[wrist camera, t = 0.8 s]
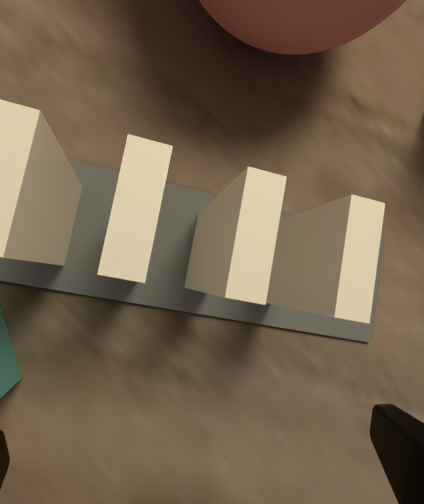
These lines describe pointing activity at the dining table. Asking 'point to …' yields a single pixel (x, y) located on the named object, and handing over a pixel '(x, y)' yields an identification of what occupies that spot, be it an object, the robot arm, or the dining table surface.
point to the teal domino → (7, 360)
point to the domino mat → (161, 263)
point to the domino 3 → (238, 238)
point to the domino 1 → (34, 188)
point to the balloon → (298, 22)
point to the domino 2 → (135, 209)
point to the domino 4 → (328, 259)
